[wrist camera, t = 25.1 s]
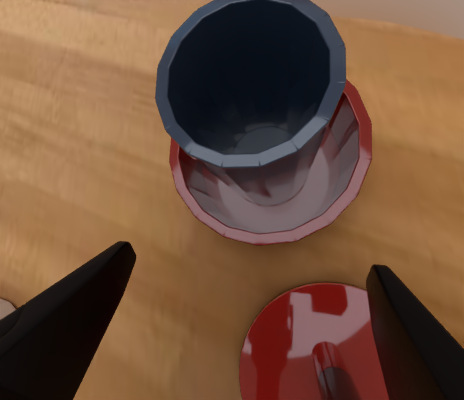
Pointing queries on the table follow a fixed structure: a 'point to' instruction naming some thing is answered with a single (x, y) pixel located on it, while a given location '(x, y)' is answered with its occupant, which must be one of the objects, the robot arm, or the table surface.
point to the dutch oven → (298, 206)
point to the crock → (253, 91)
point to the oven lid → (312, 347)
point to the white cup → (5, 308)
